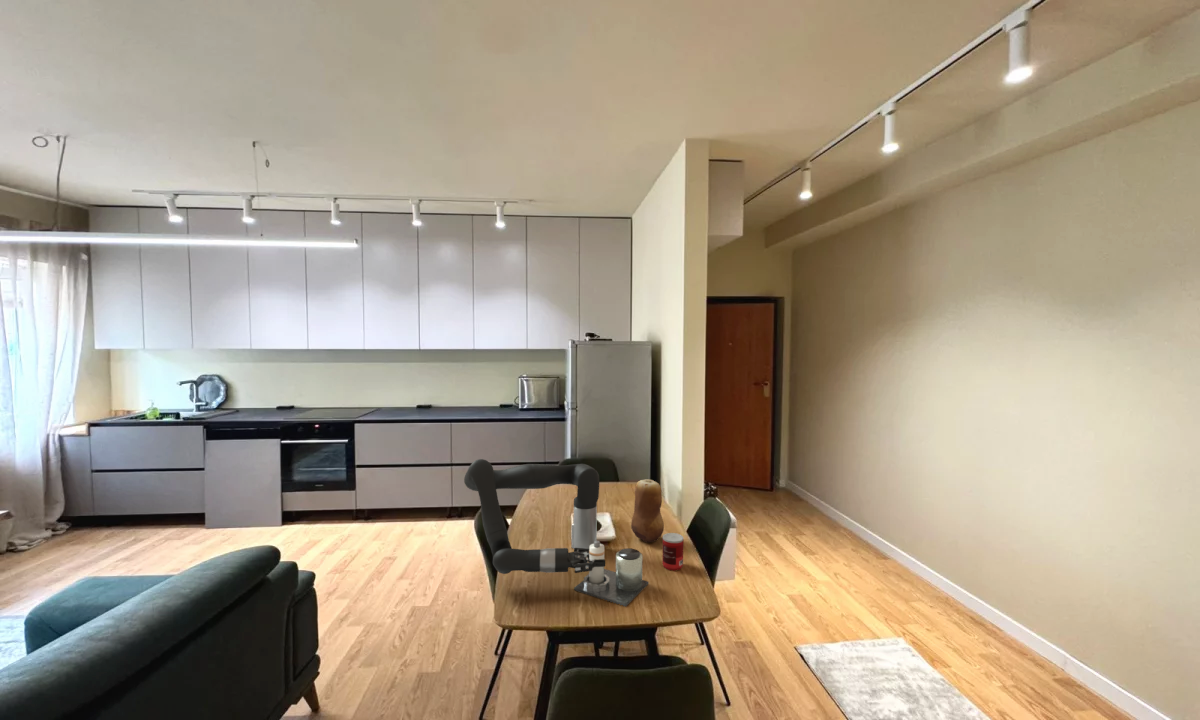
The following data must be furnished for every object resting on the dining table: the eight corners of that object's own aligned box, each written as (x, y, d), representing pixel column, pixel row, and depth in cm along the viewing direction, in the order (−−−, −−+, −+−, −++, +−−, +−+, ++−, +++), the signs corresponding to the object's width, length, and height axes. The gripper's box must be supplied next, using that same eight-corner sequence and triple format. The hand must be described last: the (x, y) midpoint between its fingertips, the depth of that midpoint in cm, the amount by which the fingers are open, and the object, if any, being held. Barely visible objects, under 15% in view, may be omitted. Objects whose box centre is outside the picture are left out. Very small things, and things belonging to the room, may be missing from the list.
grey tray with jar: (574, 590, 164) (574, 556, 164) (599, 569, 179) (600, 538, 178) (625, 606, 154) (626, 570, 154) (648, 583, 169) (648, 550, 168)
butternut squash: (668, 538, 207) (669, 479, 206) (655, 549, 196) (656, 488, 195) (639, 531, 214) (639, 474, 213) (624, 542, 203) (625, 482, 202)
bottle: (585, 582, 165) (586, 543, 165) (594, 575, 170) (594, 537, 169) (599, 586, 163) (599, 546, 162) (607, 579, 167) (607, 541, 166)
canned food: (680, 561, 186) (681, 532, 186) (685, 571, 178) (685, 541, 178) (660, 561, 186) (661, 532, 186) (664, 571, 178) (664, 541, 178)
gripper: (553, 558, 158) (606, 557, 159) (554, 540, 172) (603, 539, 173) (553, 581, 158) (606, 580, 159) (554, 561, 172) (602, 560, 173)
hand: (604, 559), depth 166 cm, fingers closed on bottle, 5 cm apart
